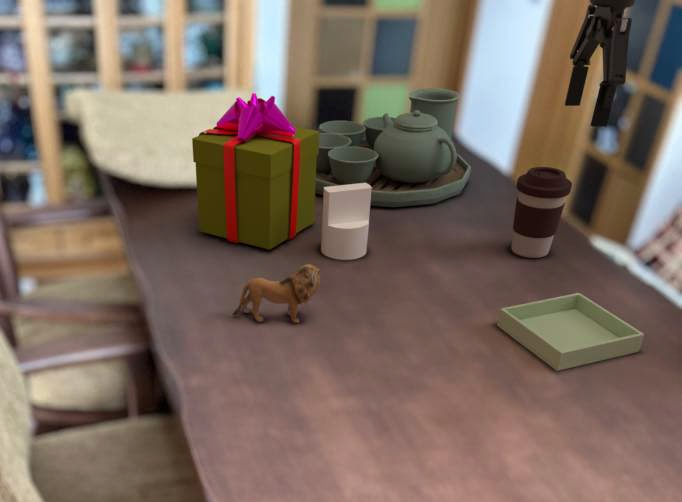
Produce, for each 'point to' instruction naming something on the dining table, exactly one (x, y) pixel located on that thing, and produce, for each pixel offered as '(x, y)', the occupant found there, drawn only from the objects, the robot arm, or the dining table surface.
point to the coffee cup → (538, 210)
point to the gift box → (255, 175)
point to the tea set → (397, 153)
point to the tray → (569, 331)
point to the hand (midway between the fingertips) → (584, 115)
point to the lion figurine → (281, 291)
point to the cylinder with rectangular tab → (345, 221)
